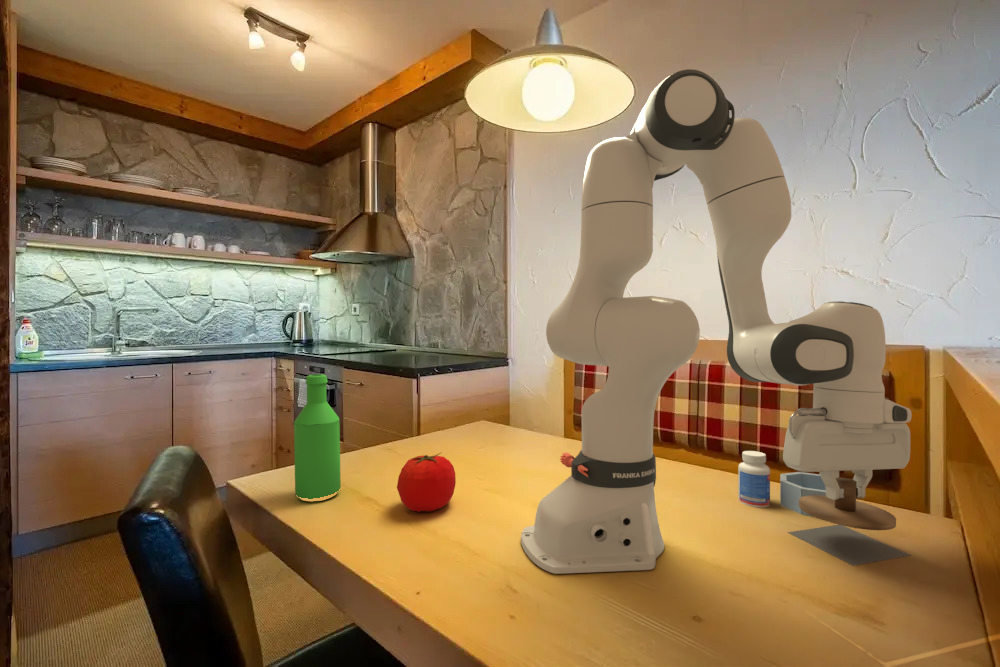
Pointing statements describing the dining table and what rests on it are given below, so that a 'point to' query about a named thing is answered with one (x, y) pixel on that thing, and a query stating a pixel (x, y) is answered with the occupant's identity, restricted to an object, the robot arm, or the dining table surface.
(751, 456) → the pill bottle
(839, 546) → the mat
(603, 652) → the dining table surface
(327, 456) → the bottle
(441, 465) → the tomato
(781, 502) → the bowl
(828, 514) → the lid
